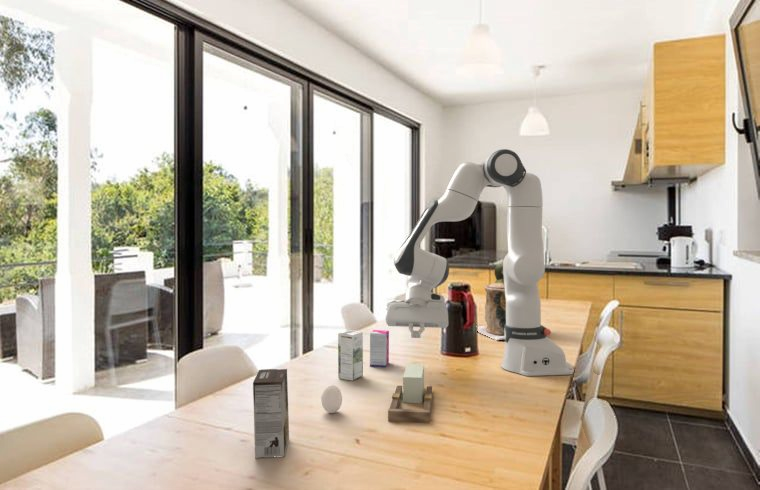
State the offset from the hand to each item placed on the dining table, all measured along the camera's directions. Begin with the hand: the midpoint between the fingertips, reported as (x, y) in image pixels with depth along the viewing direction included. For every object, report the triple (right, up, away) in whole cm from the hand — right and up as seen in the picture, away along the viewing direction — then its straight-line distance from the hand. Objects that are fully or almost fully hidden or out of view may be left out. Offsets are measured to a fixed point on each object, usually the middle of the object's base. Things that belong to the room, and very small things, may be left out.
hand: (415, 337), depth 153 cm
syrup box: (-20, -13, +1) cm, 24 cm away
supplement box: (-11, -12, +15) cm, 22 cm away
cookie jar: (+44, -10, +59) cm, 74 cm away
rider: (-2, -13, -16) cm, 21 cm away
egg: (-24, -14, -28) cm, 39 cm away
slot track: (-3, -14, -24) cm, 28 cm away
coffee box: (-35, -15, -48) cm, 61 cm away
